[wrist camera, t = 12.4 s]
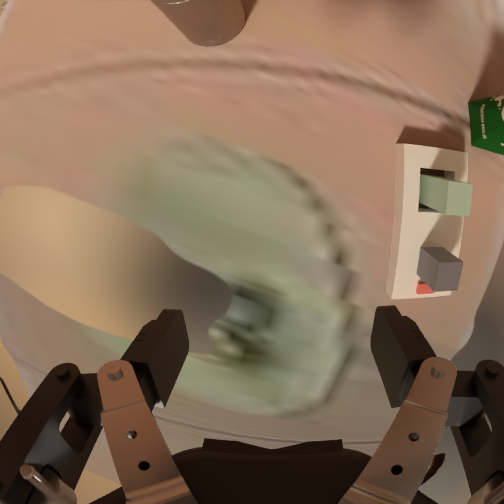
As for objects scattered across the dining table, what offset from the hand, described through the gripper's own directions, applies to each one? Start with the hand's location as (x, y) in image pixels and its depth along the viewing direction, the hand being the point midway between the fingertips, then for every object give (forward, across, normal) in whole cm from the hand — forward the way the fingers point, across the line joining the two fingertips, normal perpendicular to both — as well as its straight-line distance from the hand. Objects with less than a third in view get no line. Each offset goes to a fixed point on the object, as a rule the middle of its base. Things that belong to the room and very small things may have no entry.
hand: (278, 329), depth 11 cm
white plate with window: (+29, -22, +3) cm, 37 cm away
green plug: (+29, -22, -2) cm, 37 cm away
